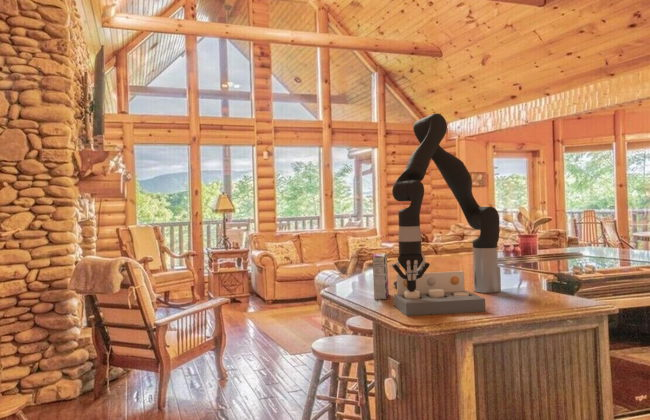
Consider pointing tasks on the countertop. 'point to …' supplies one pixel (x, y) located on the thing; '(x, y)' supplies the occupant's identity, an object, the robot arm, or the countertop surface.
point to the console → (443, 305)
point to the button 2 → (460, 294)
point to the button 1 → (412, 294)
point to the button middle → (436, 293)
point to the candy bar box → (380, 276)
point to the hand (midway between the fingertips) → (411, 291)
